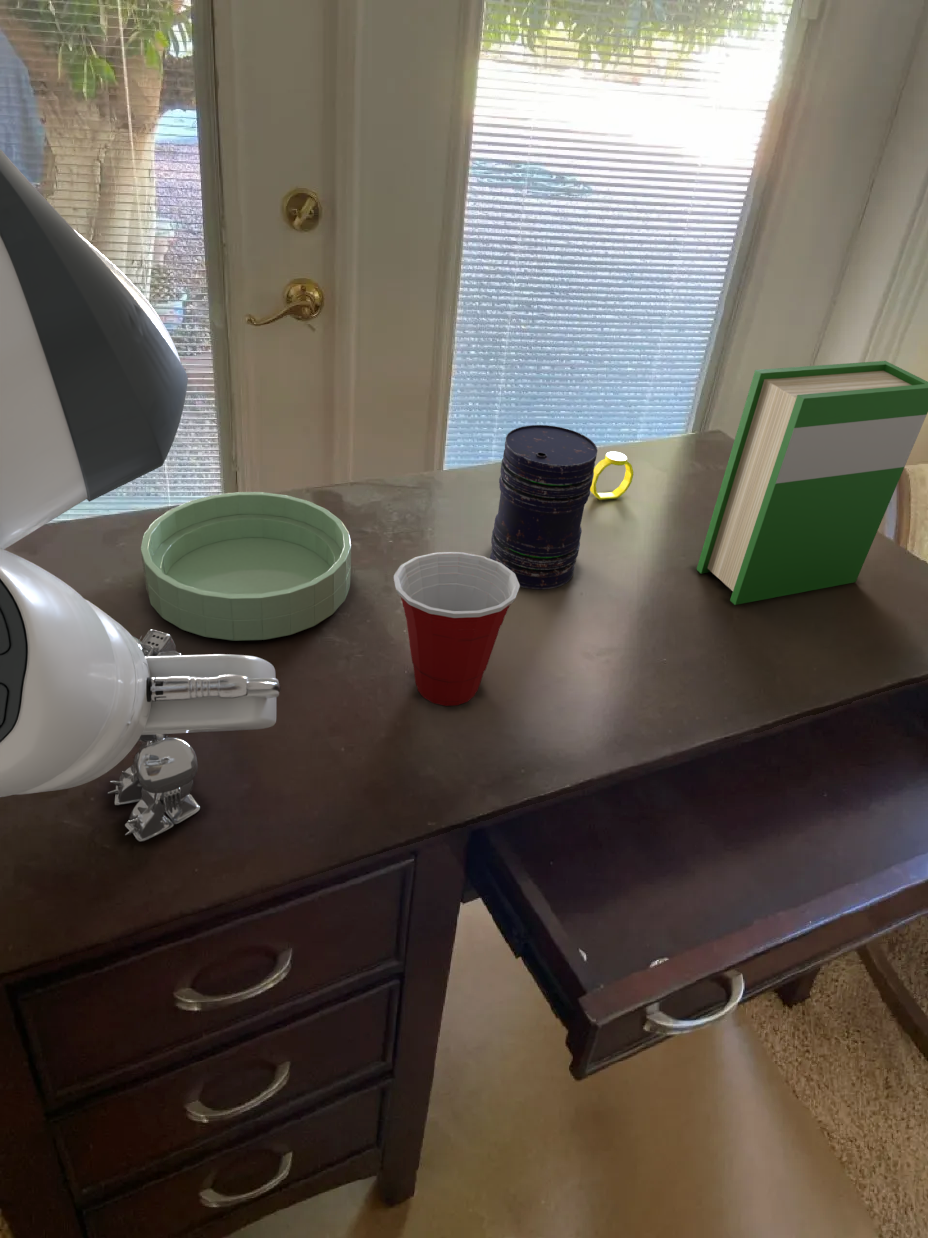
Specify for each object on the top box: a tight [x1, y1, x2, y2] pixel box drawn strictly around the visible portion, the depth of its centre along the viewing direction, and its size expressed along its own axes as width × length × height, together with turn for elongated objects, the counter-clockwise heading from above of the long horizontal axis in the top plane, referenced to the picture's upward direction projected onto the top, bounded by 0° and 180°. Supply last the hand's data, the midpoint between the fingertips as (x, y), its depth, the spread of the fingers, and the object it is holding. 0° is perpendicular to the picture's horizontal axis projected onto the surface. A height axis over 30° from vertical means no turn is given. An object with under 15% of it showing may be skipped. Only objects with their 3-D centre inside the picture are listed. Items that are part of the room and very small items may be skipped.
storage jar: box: [489, 424, 598, 590], centre depth 96 cm, size 10×10×15 cm
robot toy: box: [107, 628, 201, 843], centre depth 65 cm, size 15×6×15 cm, turn 33°
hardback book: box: [696, 360, 928, 606], centre depth 97 cm, size 18×7×24 cm, turn 113°
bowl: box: [140, 491, 352, 642], centre depth 91 cm, size 20×20×6 cm
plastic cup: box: [393, 551, 521, 707], centre depth 79 cm, size 11×11×12 cm
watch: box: [590, 451, 635, 501], centre depth 114 cm, size 6×3×6 cm, turn 115°
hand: (108, 709), depth 54 cm, fingers open, 8 cm apart
